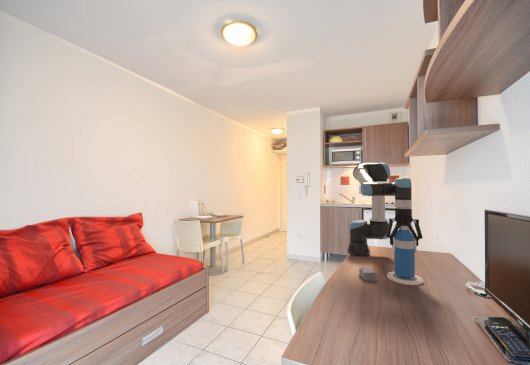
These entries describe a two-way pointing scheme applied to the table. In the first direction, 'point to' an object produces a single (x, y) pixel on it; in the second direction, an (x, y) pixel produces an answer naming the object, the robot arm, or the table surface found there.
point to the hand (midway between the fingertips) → (404, 251)
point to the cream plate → (405, 279)
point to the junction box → (368, 274)
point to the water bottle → (404, 253)
